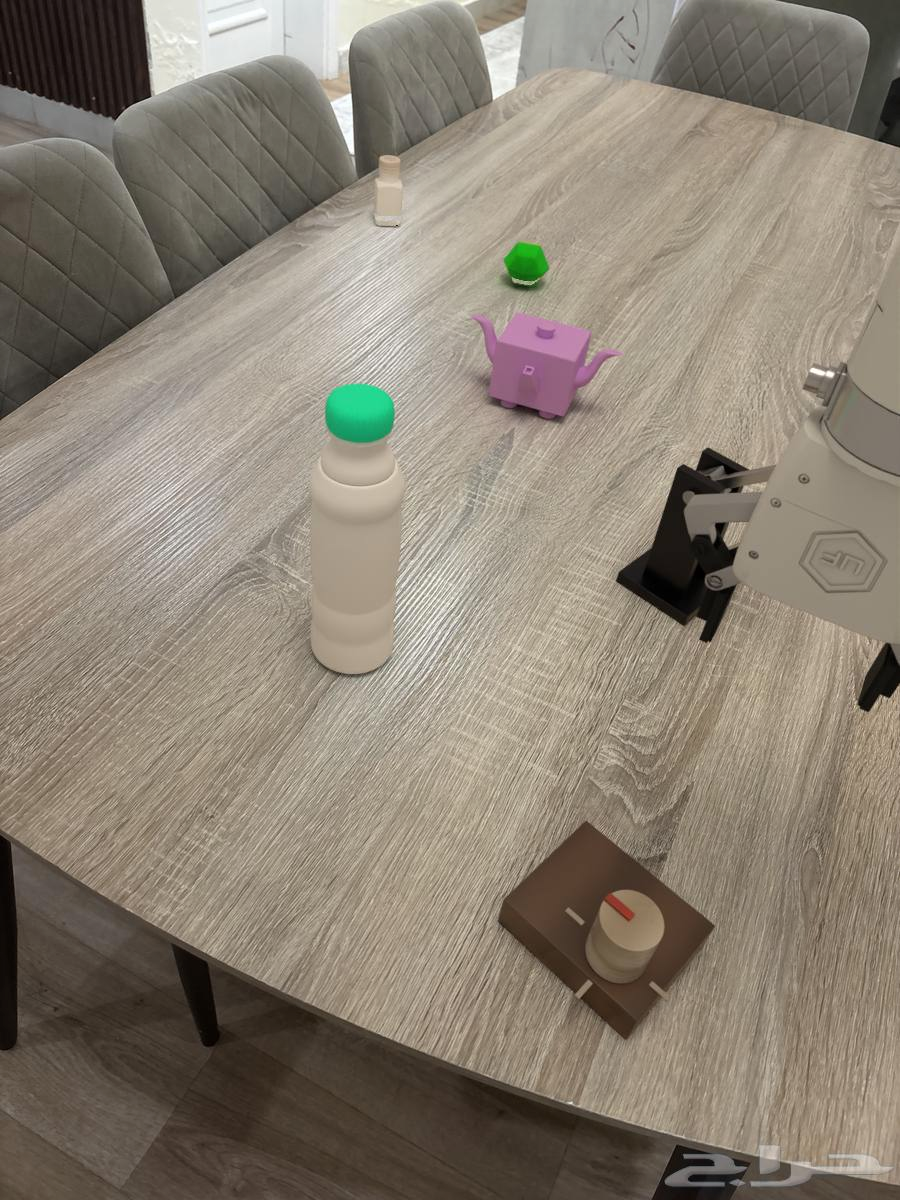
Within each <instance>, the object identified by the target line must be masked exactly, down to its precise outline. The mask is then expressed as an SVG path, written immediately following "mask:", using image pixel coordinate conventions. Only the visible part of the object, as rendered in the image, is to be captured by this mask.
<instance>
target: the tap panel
mask: <svg viewBox="0 0 900 1200" xmlns="http://www.w3.org/2000/svg"><path fill="white" fill-rule="evenodd" d="M619 890H633V891H637V892H640V893H642V894H644V895H645V896H647V897H648V898H650V899H651V900H652V901H653V902H654V903H655V904H656V905H657V907H658V908H659V910H660V911H661V913H662V916H663V919H664V934H663V937H662V939H661V941H660V942H659V944H658V946H657V948H656V950H655V952H654V954H653V956H652V957H651V959H650V961H649V963H648V965H647V967H646V969H645V970H644V972H643V974H642V975H641V976H640V977H639V978H638V979H636V980H635V981H633V982H630V983H625V984H619V983H613V982H610V981H607V980H605V979H604V978H602V977H601V976H599V975H598V974H597V973H596V972H595V971H594V970H593V969H592V967H591V966H590V964H589V962H588V960H587V957H586V952H585V945H586V940H587V938H588V935H589V933H590V930H591V928H592V926H593V923H594V921H595V918H596V916H597V914H598V911H599V909H600V906H601V904H602V902H603V901H604V899H605V898H606V896H607V895H608V894H609V893H613V892H616V891H619ZM497 922H498V923H499V924H501V926H502V927H504V928H505V929H506V930H507V931H508V932H509V933H510V934H511V935H512V936H513V937H514V938H516V940H517V941H519V942H520V943H521V944H522V945H523V946H524V947H525V948H526V949H527V950H528V951H529V952H530V953H532V954H533V955H534V956H535V957H536V958H537V959H538V960H539V961H540V962H541V963H542V964H544V966H546V967H547V968H548V969H549V970H550V971H551V972H552V973H553V974H554V975H555V976H556V977H558V979H560V980H561V982H563V984H565V985H566V986H567V987H568V988H569V989H570V990H571V991H572V992H573V993H575V994H574V997H575V998H576V999H578V1000H580V999H581V1000H583V1002H584V1003H585V1004H587V1005H588V1006H589V1008H590V1009H592V1010H593V1011H594V1012H595V1013H596V1014H597V1015H598V1016H600V1018H602V1019H603V1020H604V1021H605V1022H606V1023H607V1024H608V1025H609V1026H610V1027H611V1028H612V1029H613V1030H614V1031H616V1032H617V1033H618V1034H619V1035H620V1036H621V1037H622V1038H623V1039H624V1040H625V1041H626V1040H628V1039H629V1038H630V1037H631V1035H632V1034H633V1033H634V1032H635V1031H636V1029H637V1028H638V1026H640V1025H641V1023H642V1022H643V1021H644V1020H645V1018H646V1017H647V1016H648V1014H649V1013H650V1012H651V1011H652V1010H653V1008H655V1006H656V1005H657V1003H658V1002H659V1001H660V1000H661V999H663V1000H664V1001H665V1002H668V1001H669V1000H670V999H671V996H670V995H669V994H668V993H667V991H669V990H670V988H671V986H672V985H673V984H674V983H675V982H676V980H677V979H678V978H679V977H680V975H681V974H682V973H683V972H684V970H685V969H686V968H688V966H689V965H690V963H691V962H692V961H693V960H694V959H695V957H696V956H697V955H698V954H699V952H701V950H702V949H703V947H704V945H705V944H706V943H707V941H708V939H709V938H710V936H711V934H712V933H713V931H714V929H715V928H716V925H715V923H713V922H712V921H710V920H709V919H708V918H707V917H706V916H704V915H703V914H702V913H701V912H699V911H698V910H697V909H696V908H694V907H693V906H692V905H691V904H690V903H688V902H687V901H686V900H684V899H683V898H682V897H681V896H679V895H678V894H677V893H676V892H675V891H673V890H672V889H671V888H670V887H668V886H667V885H666V884H665V883H663V881H661V880H660V879H659V878H658V877H657V876H655V875H654V874H652V872H650V871H649V870H648V869H647V868H646V867H644V866H643V865H641V864H640V863H639V862H638V861H637V860H635V859H634V857H632V856H631V855H630V854H629V853H627V852H626V851H624V850H623V849H622V848H621V847H620V846H619V845H617V844H616V843H614V841H612V840H611V839H610V838H608V836H606V835H605V834H603V832H601V831H600V830H599V829H597V828H596V827H595V826H594V825H593V824H591V823H590V821H588V820H585V821H583V822H582V823H581V824H580V825H579V826H578V827H577V828H576V829H575V830H574V831H573V832H572V833H571V834H570V835H569V836H568V837H567V838H566V839H565V840H563V842H561V844H559V846H558V847H556V848H555V850H553V851H552V852H551V853H550V854H549V855H548V856H547V857H545V859H544V860H543V861H542V862H540V863H539V864H538V866H536V867H535V869H534V870H532V871H531V872H530V873H529V874H528V875H527V876H526V877H525V878H524V879H523V880H522V881H521V882H520V883H519V884H518V885H517V886H516V887H515V888H513V890H512V891H510V892H509V893H508V894H507V895H506V896H505V897H504V898H503V900H502V903H501V907H500V911H499V915H498V919H497Z"/></svg>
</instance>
